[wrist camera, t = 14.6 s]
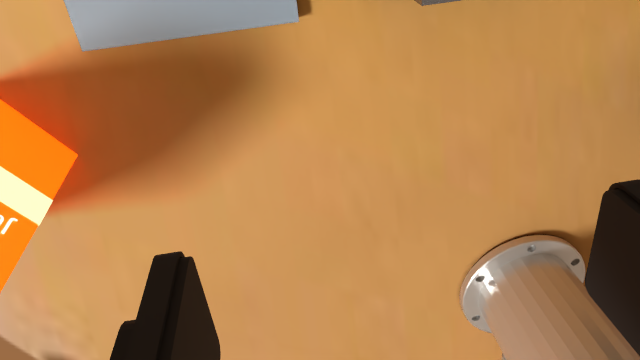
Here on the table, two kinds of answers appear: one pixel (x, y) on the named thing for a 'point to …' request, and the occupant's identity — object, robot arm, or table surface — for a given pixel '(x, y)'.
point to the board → (169, 19)
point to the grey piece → (432, 1)
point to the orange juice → (26, 182)
